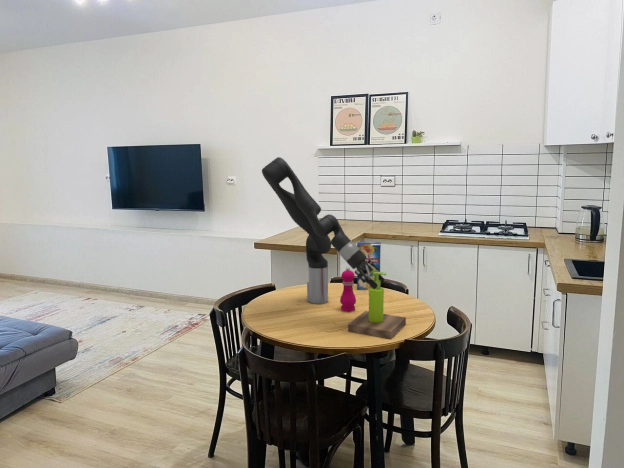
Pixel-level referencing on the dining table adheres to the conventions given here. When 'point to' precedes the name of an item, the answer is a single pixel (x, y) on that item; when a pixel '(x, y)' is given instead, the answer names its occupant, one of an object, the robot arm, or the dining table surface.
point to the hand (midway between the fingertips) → (379, 284)
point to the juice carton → (371, 254)
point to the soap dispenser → (376, 300)
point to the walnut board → (377, 325)
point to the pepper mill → (348, 291)
